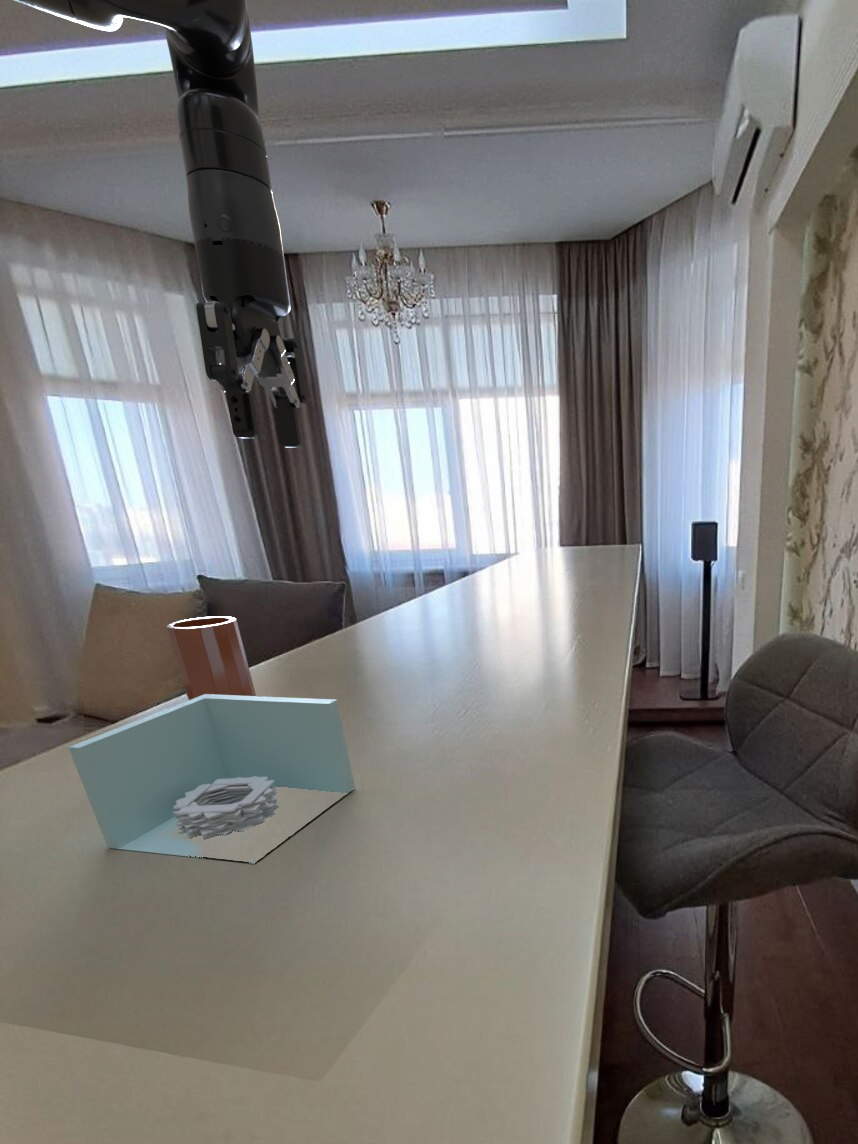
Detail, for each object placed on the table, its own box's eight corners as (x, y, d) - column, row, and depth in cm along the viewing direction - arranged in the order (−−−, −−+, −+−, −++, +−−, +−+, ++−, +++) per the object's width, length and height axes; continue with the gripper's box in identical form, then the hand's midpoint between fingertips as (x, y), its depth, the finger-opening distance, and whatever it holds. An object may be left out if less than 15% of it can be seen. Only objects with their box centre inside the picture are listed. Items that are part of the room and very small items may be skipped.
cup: (180, 723, 72) (151, 628, 68) (220, 705, 78) (195, 616, 74) (234, 724, 71) (208, 628, 67) (271, 706, 77) (248, 616, 73)
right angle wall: (107, 847, 47) (68, 747, 44) (230, 779, 58) (205, 694, 55) (255, 863, 45) (224, 757, 41) (355, 788, 55) (336, 699, 52)
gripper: (244, 275, 70) (271, 450, 77) (149, 217, 57) (190, 434, 63) (314, 274, 70) (335, 450, 76) (234, 215, 57) (268, 434, 63)
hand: (269, 442), depth 70 cm, fingers open, 8 cm apart
